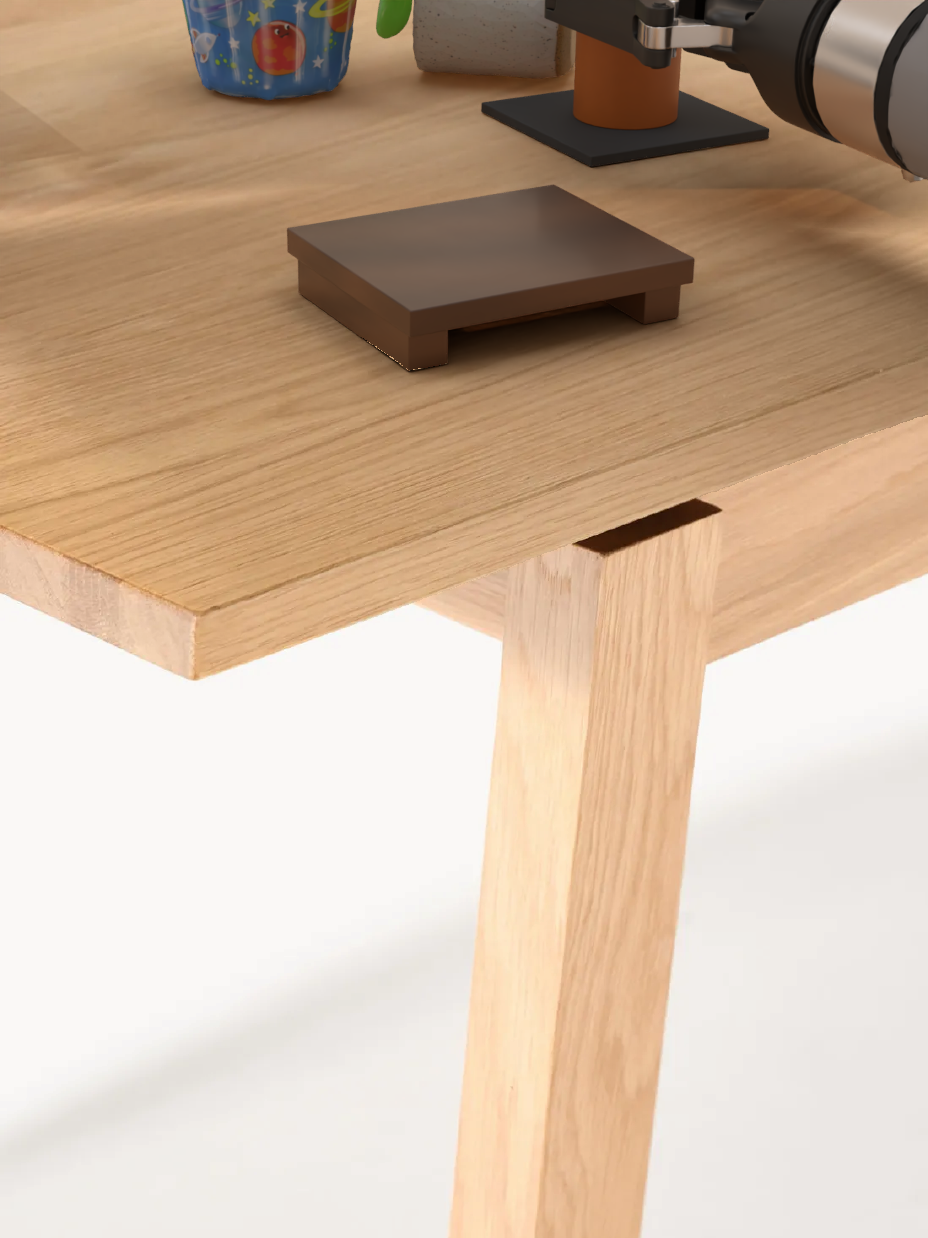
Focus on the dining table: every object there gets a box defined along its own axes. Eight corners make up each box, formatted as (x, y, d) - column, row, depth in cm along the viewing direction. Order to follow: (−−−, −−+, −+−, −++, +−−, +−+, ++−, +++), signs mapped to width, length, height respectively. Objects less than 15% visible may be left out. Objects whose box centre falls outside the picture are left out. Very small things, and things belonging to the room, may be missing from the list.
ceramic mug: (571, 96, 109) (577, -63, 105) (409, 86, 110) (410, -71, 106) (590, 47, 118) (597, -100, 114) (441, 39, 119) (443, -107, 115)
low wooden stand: (287, 289, 84) (286, 227, 83) (551, 242, 89) (553, 183, 88) (410, 378, 77) (410, 311, 75) (691, 321, 82) (695, 257, 81)
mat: (480, 112, 106) (481, 102, 106) (651, 87, 111) (651, 77, 110) (590, 167, 99) (591, 156, 98) (769, 138, 103) (770, 128, 103)
